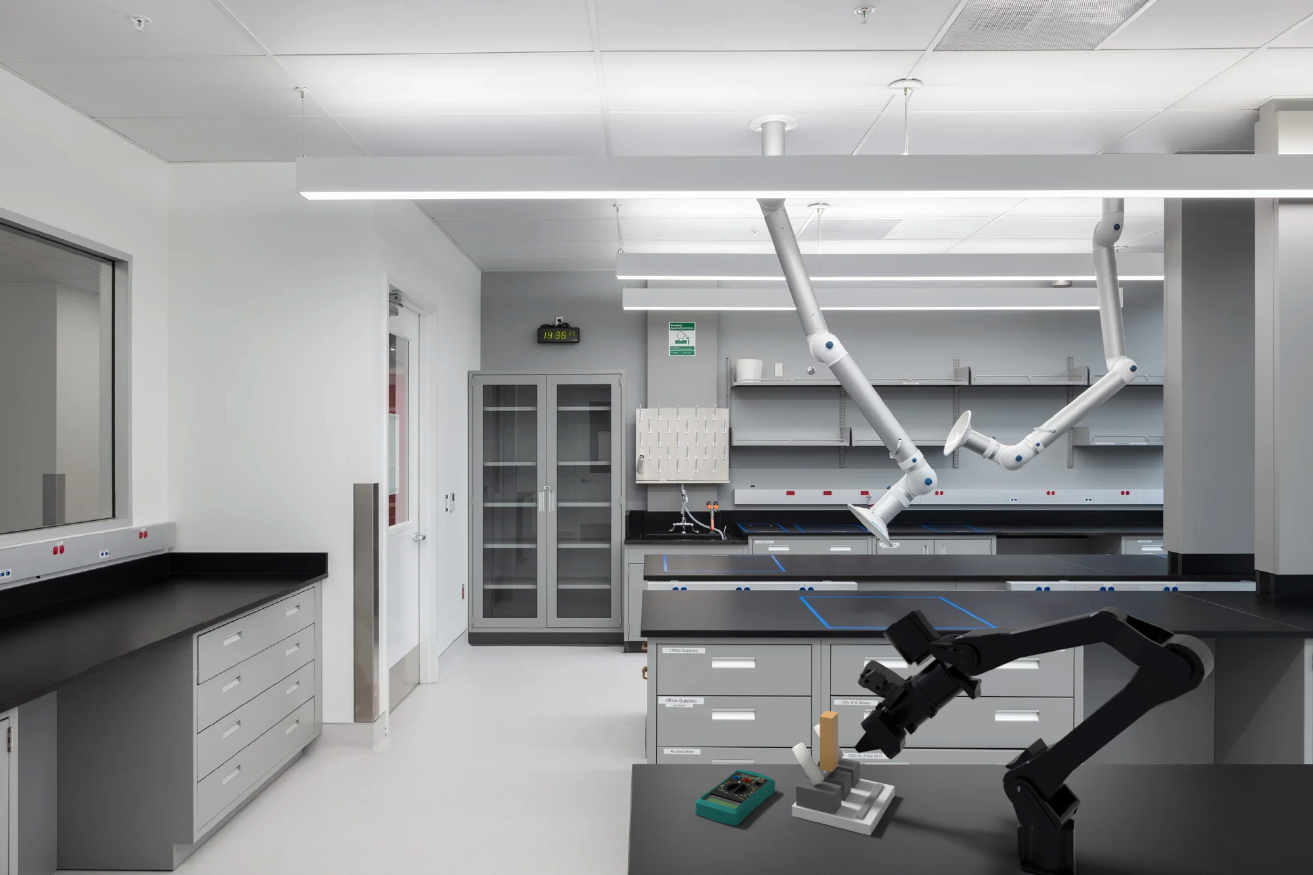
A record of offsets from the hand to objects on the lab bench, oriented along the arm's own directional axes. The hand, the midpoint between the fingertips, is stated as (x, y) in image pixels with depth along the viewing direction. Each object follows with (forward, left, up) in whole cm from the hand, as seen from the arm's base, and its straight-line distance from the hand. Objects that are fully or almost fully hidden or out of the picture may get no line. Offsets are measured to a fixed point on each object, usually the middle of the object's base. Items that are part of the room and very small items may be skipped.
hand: (856, 749), depth 122 cm
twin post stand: (+2, 0, -9) cm, 9 cm away
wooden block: (+4, 0, -4) cm, 6 cm away
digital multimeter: (+17, +8, -10) cm, 21 cm away
